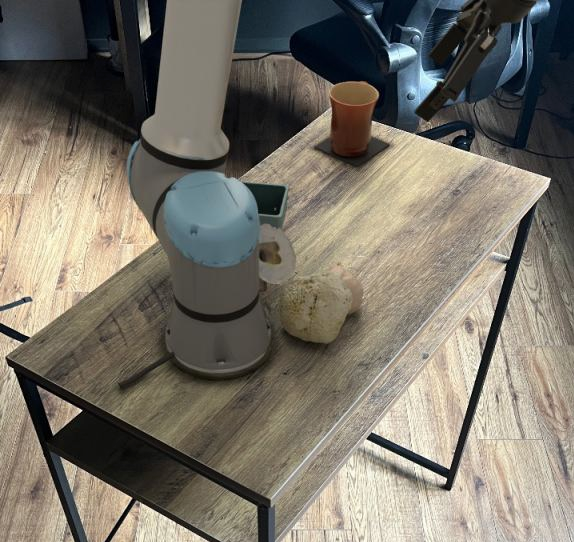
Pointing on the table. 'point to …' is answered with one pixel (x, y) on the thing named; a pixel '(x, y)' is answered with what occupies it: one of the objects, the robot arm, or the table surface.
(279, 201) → the flower pot
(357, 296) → the garlic bulb
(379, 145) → the mat
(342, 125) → the mug
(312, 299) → the decorative item
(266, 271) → the figurine
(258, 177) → the table surface
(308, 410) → the table surface
